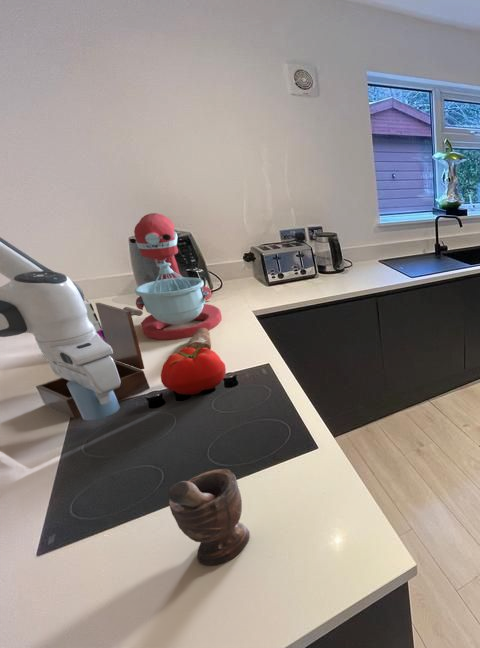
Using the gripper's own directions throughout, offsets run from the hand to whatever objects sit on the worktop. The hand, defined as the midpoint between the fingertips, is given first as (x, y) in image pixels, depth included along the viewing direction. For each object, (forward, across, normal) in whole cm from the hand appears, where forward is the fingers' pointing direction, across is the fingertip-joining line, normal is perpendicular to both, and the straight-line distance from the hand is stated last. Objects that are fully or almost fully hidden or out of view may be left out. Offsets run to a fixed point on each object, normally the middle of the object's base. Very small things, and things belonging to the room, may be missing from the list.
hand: (95, 398), depth 92 cm
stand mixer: (+9, -50, +46) cm, 68 cm away
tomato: (+9, +1, +20) cm, 22 cm away
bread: (+9, -25, +36) cm, 45 cm away
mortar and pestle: (+9, +57, -10) cm, 59 cm away
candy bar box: (+9, -53, +18) cm, 57 cm away
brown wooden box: (+8, -17, +6) cm, 20 cm away
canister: (+4, 0, 0) cm, 4 cm away
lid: (-7, -17, +14) cm, 23 cm away
